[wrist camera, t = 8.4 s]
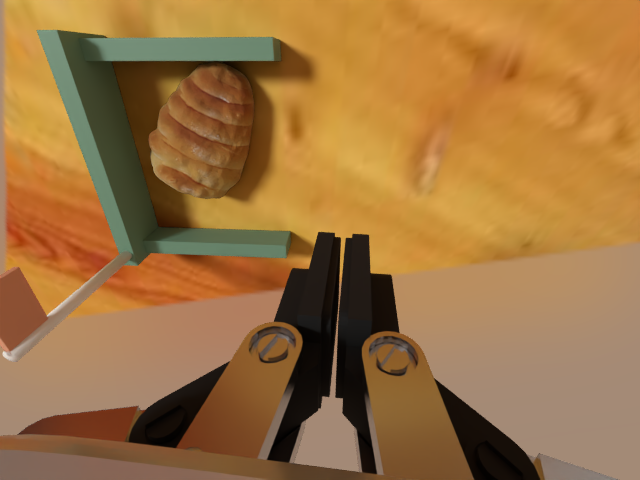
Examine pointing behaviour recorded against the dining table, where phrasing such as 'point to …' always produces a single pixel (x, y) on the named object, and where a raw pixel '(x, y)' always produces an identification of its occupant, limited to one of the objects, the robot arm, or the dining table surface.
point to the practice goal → (123, 169)
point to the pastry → (204, 132)
